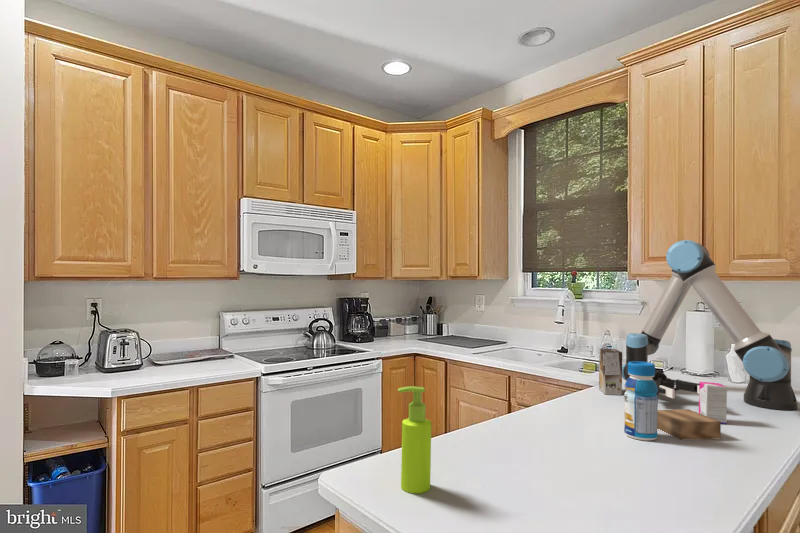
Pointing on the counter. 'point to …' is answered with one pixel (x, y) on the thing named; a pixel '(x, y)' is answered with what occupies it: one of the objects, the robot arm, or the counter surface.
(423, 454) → the soap dispenser
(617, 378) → the coffee box
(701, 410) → the supplement box
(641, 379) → the beverage bottle
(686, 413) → the oak riser block
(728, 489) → the counter surface
